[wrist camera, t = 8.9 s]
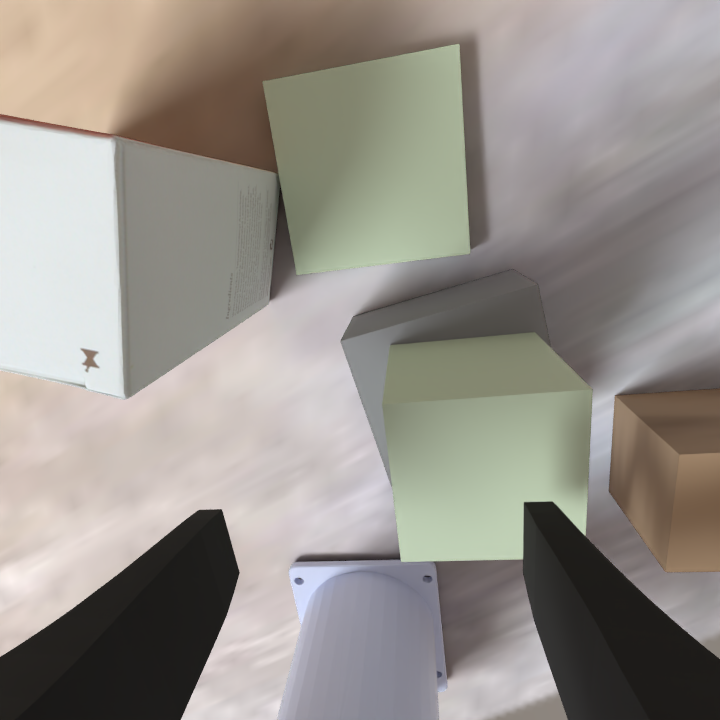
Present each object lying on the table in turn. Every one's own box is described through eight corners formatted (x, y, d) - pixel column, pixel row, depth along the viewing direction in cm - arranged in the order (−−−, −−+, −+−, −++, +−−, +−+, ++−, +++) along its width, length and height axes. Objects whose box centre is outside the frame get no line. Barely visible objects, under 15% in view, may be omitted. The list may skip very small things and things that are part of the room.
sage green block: (534, 458, 17) (584, 558, 12) (402, 465, 17) (400, 561, 13) (534, 332, 15) (592, 389, 10) (389, 345, 16) (382, 404, 11)
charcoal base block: (543, 414, 20) (574, 461, 16) (398, 447, 22) (395, 498, 18) (511, 268, 18) (537, 284, 14) (353, 315, 20) (340, 341, 16)
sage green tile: (467, 251, 18) (470, 253, 17) (302, 271, 19) (296, 275, 18) (456, 53, 16) (459, 43, 15) (270, 88, 17) (262, 81, 16)
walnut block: (723, 485, 20) (818, 570, 16) (608, 490, 21) (665, 572, 16) (739, 386, 19) (849, 446, 14) (614, 394, 19) (679, 454, 15)
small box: (284, 173, 18) (127, 132, 8) (271, 306, 20) (131, 407, 10) (97, 140, 18) (-279, 60, 8) (102, 274, 20) (-198, 339, 10)
